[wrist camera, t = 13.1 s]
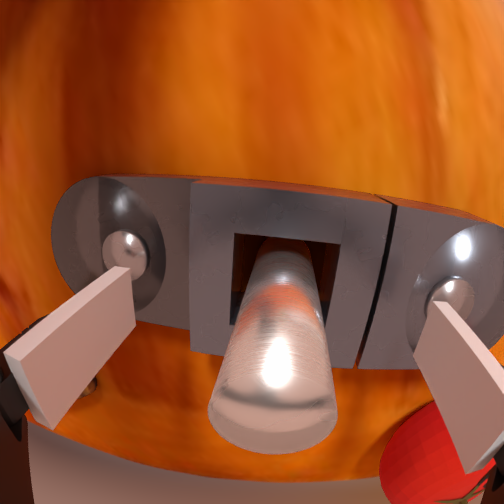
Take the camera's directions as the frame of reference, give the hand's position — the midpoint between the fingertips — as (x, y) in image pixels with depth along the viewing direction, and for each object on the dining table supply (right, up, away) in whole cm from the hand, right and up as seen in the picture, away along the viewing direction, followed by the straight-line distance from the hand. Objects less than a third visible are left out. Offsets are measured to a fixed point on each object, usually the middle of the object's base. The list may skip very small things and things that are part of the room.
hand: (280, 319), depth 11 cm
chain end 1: (-5, +3, +7) cm, 9 cm away
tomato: (+16, -13, +10) cm, 22 cm away
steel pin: (+1, +2, +7) cm, 7 cm away
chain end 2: (+6, +2, +6) cm, 9 cm away
